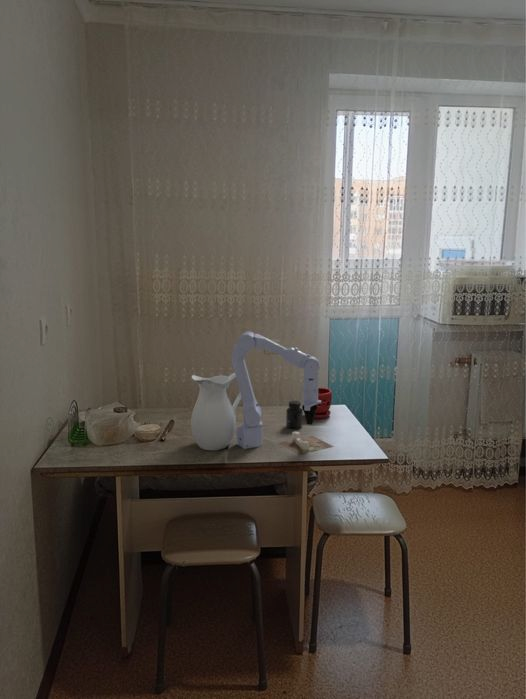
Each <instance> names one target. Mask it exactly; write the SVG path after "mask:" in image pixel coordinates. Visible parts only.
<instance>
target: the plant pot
mask: <svg viewBox="0 0 526 699" xmlns="http://www.w3.org/2000/svg"><path fill="white" fill-rule="evenodd" d="M332 399H333V392H332V389H331V388H325V387H318V400H321V403H320V404H319V403H318V404H317V405H318V408H317V410H316V412H315V416H314V419H323V418H327V417H329V416H330V415H331V410H330V409H331V406H332V401H333V400H332Z"/></svg>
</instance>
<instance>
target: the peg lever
mask: <svg viewBox="0 0 526 699" xmlns="http://www.w3.org/2000/svg"><path fill="white" fill-rule="evenodd" d="M300 433H301V432H299V431H292V436H291V438H292V439H291V440H292V442H295V443H296V444H297V445H298V446H300V449H301V450H303V451H308V450H309V442H308V441H302V440H301V439H300V438H301V437H300V436H301V434H300Z"/></svg>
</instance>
